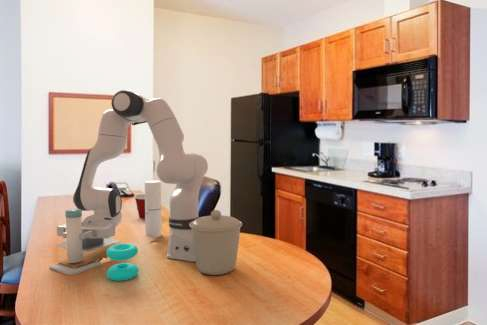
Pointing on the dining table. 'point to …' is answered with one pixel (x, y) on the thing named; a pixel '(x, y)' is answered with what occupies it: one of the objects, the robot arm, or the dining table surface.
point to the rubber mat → (73, 270)
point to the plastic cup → (140, 204)
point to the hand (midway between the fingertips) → (72, 236)
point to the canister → (216, 243)
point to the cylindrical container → (153, 208)
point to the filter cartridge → (74, 235)
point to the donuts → (122, 269)
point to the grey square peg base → (93, 243)
